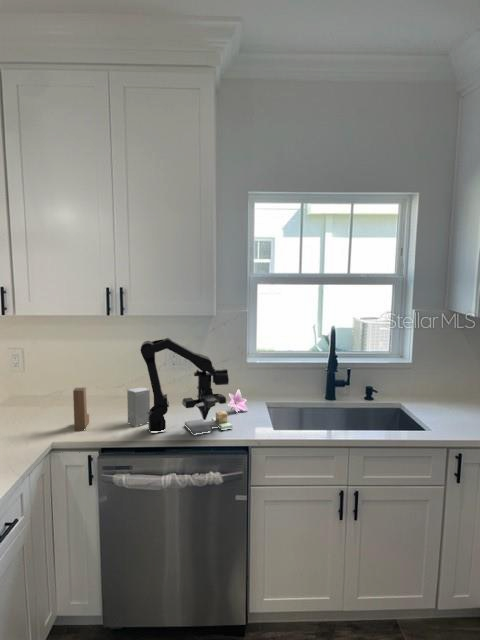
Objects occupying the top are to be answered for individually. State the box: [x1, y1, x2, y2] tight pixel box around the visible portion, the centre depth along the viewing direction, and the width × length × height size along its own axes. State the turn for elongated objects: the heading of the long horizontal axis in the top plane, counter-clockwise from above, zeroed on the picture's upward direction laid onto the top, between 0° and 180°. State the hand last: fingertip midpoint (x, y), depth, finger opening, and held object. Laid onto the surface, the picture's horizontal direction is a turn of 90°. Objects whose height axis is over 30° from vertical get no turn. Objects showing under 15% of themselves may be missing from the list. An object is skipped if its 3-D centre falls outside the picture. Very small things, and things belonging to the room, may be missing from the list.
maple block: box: [215, 410, 228, 423], centre depth 196 cm, size 4×4×4 cm
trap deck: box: [184, 416, 233, 435], centre depth 194 cm, size 18×12×2 cm, turn 115°
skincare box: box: [126, 387, 151, 427], centre depth 197 cm, size 8×7×16 cm
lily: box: [227, 388, 249, 412], centre depth 216 cm, size 12×12×10 cm
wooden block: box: [72, 387, 90, 431], centre depth 191 cm, size 9×4×18 cm, turn 8°
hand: (204, 419), depth 192 cm, fingers closed
